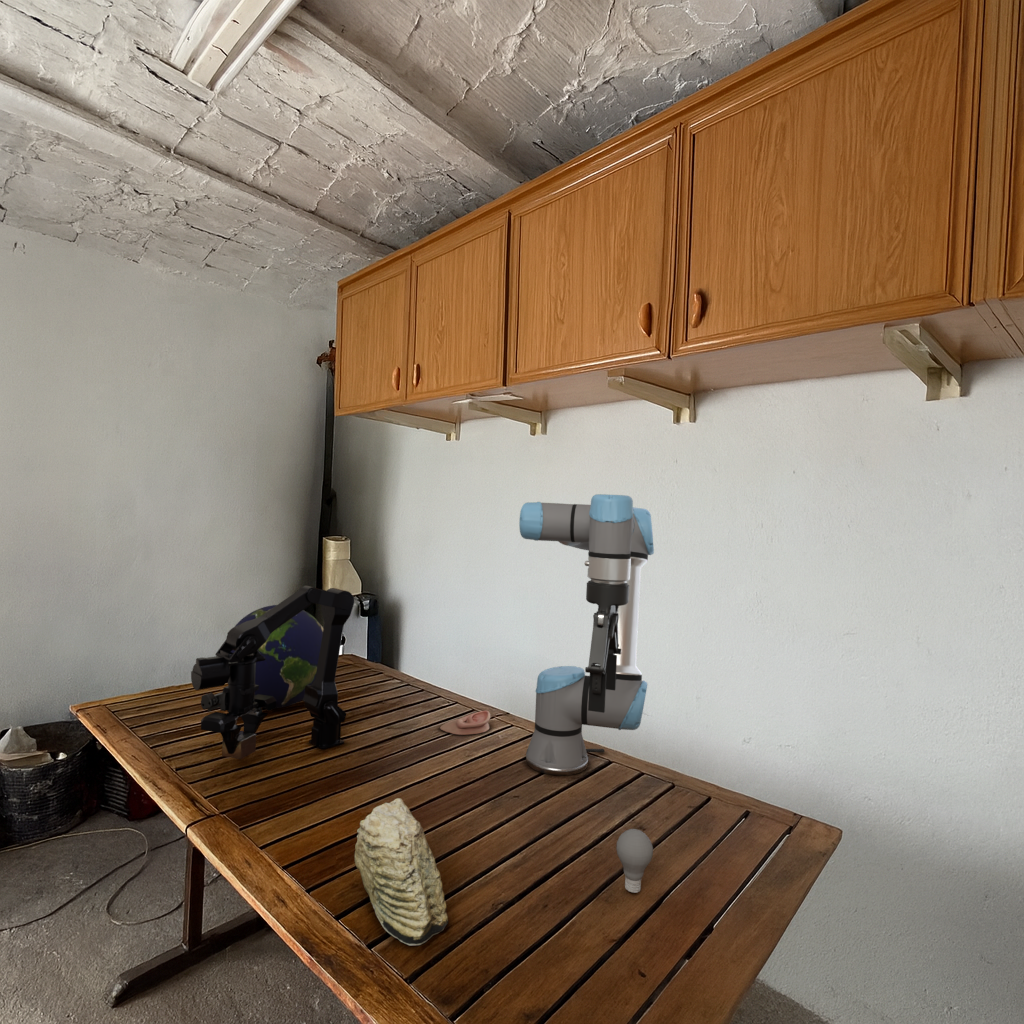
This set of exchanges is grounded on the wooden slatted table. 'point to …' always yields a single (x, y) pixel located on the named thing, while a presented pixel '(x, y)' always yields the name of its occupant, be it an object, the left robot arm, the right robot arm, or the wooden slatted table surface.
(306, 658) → the globe
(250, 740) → the grey metal block
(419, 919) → the fossil
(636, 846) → the light bulb
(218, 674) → the left robot arm
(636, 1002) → the wooden slatted table surface
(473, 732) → the anatomical model
